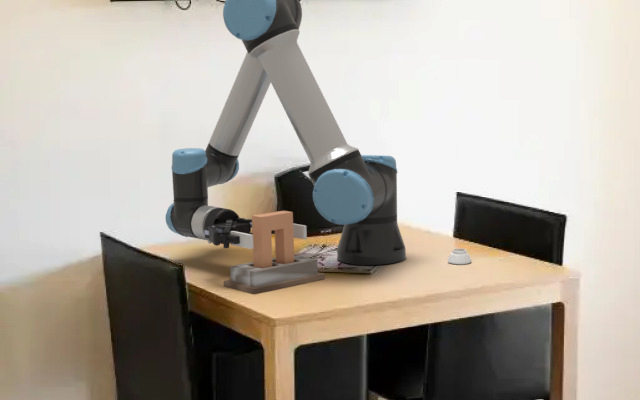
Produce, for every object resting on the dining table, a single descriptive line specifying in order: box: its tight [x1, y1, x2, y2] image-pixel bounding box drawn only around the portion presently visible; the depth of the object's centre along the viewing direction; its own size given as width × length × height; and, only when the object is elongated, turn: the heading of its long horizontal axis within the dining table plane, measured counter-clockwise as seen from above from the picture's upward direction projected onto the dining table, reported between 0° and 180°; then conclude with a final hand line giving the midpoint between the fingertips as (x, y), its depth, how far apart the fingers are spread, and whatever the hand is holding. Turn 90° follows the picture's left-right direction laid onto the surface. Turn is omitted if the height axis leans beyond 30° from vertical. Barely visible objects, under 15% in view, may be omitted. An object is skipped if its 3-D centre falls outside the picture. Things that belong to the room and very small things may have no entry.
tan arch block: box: [251, 210, 295, 269], centre depth 214 cm, size 3×8×13 cm, turn 130°
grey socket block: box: [223, 254, 326, 295], centre depth 214 cm, size 10×18×4 cm, turn 131°
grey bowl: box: [447, 248, 472, 266], centre depth 229 cm, size 5×3×5 cm
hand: (279, 237), depth 212 cm, fingers open, 13 cm apart
